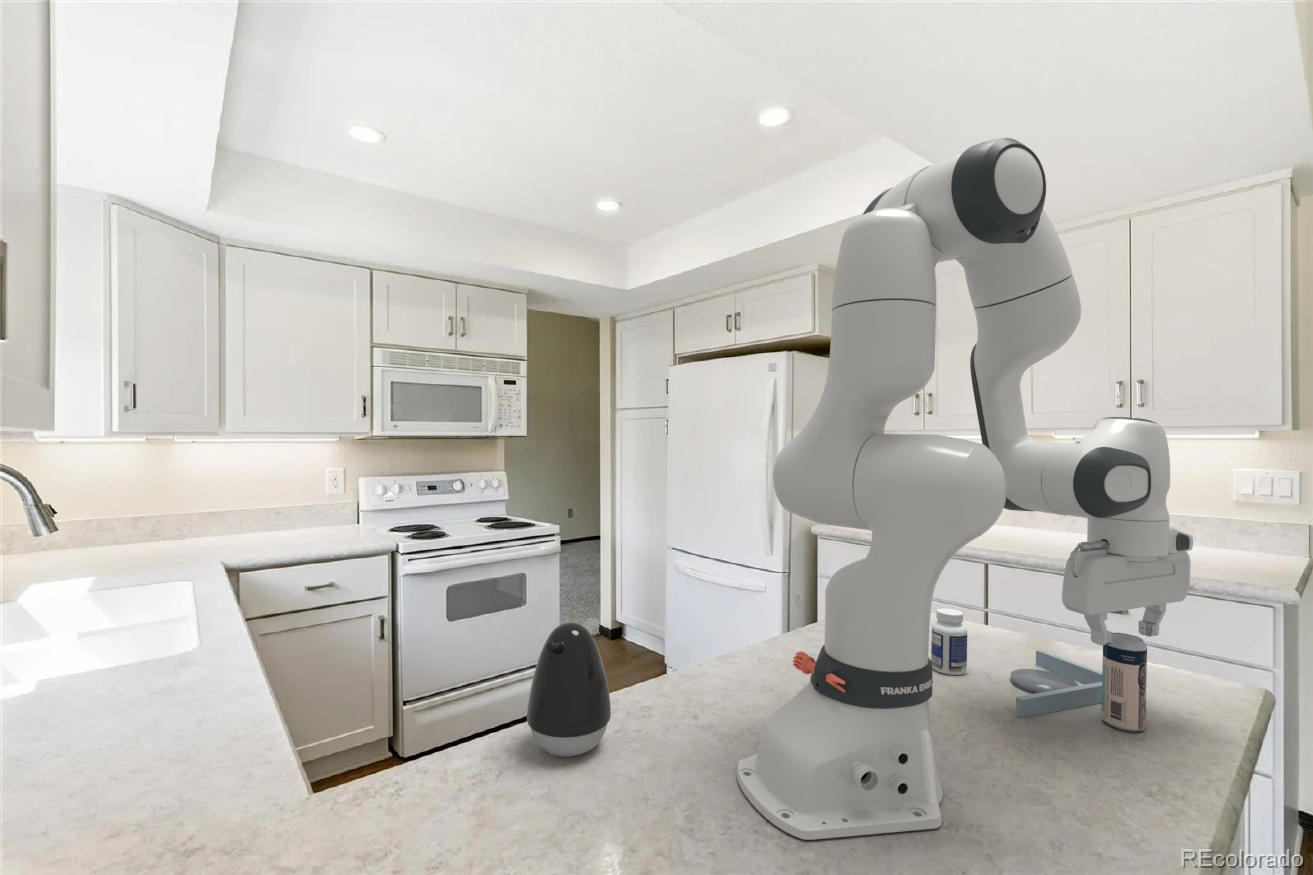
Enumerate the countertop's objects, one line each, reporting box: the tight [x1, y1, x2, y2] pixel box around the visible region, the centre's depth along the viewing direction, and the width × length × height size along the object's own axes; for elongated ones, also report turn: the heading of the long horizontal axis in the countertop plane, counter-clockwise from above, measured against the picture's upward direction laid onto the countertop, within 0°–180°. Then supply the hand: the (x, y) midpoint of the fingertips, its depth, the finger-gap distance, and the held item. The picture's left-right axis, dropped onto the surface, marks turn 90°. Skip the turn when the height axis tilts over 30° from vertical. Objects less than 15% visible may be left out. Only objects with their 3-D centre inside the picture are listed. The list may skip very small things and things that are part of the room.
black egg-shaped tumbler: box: [526, 622, 612, 758], centre depth 77 cm, size 10×10×15 cm
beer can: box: [1101, 632, 1148, 733], centre depth 84 cm, size 5×5×12 cm
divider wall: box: [1015, 649, 1102, 719], centre depth 97 cm, size 24×14×2 cm, turn 110°
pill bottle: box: [930, 607, 968, 676], centre depth 103 cm, size 5×5×10 cm
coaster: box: [1010, 668, 1079, 694], centre depth 97 cm, size 9×9×1 cm
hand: (1125, 639), depth 84 cm, fingers open, 8 cm apart
